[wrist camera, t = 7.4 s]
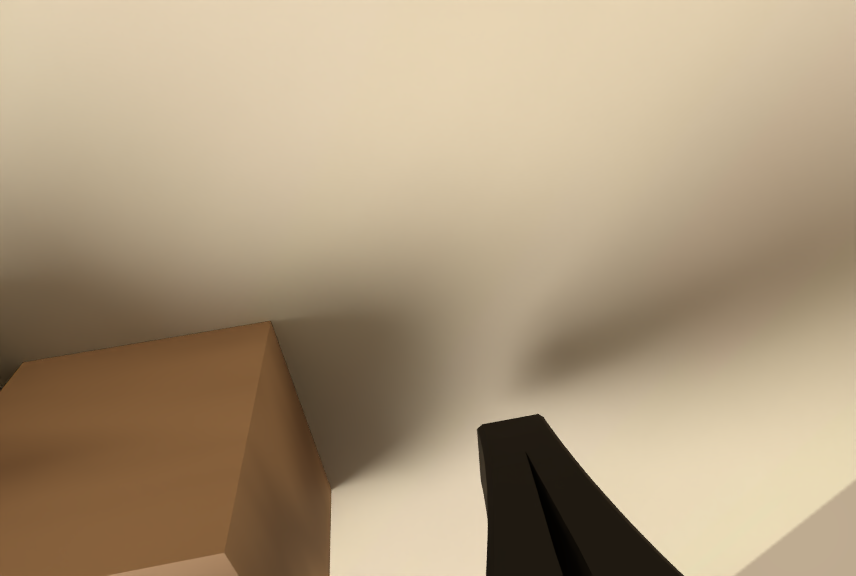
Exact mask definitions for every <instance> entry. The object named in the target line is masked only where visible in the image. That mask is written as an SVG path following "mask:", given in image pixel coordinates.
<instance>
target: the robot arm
mask: <svg viewBox="0 0 856 576" xmlns="http://www.w3.org/2000/svg"><path fill="white" fill-rule="evenodd" d="M477 434H478V448H479V461H480V475H481V483H482V488H483V493H484V499H485V505H486V511H487V518H488V541H487V566H486V576H684V575H683V574H681V573H680V572H679V571H678V570H677V569H676V568H675V567H674V566H673V565H672V564H671V563H670V562H669V561H668V560H667V559H666V558H665V557H664V556H663V555H662V554H661V553H660V552H659V551H658V550H657V549H656V548H655V547H654V546H653V545H652V544H651V543H650V542H649V541H648V540H647V539H646V538H645V537H644V536H643V535H642V534H641V533H640V532H639V531H638V530H637V529H636V528H635V527H634V526H633V525H632V524H631V522H630V521H629V520H628V519H627V518H626V517H625V516H624V515H623V514H622V513H621V512H620V511H619V510H618V508H617V507H616V506H615V505H614V504H613V503H612V502H611V501H610V499H609V498H608V497H607V496H606V495H605V494H604V493H603V492H602V490H601V489H600V488H599V487H598V486H597V485H596V484H595V483H594V481H593V480H592V479H591V478H590V477H589V475H588V474H587V473H586V472H585V471H584V470H583V468H582V467H581V466H580V465H579V463H578V462H577V461H576V460H575V458H574V457H573V456H572V455H571V454H570V452H569V451H568V450H567V448H566V447H565V446H564V445H563V443H562V442H561V441H560V439H559V438H558V437H557V435H556V434H555V433H554V431H553V430H552V429H551V427H550V426H549V424H548V423H547V422H546V420H545V419H544V417H543V416H541V415H539V414H536V415H530V416H525V417H520V418H514V419H509V420H503V421H498V422H493V423H487V424H482V425H481V426H480V427H479V428H478V429H477Z"/></svg>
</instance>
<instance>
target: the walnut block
mask: <svg viewBox="0 0 856 576" xmlns="http://www.w3.org/2000/svg"><path fill="white" fill-rule="evenodd" d="M330 530H331V487H330V485H329V482H328V479H327V476H326V473H325V471H324V468H323V465H322V462H321V460H320V457H319V454H318V451H317V448H316V446H315V443H314V440H313V437H312V434H311V432H310V429H309V426H308V423H307V421H306V418H305V415H304V412H303V409H302V407H301V404H300V401H299V398H298V396H297V393H296V390H295V387H294V384H293V382H292V379H291V376H290V373H289V371H288V368H287V365H286V362H285V359H284V357H283V354H282V351H281V348H280V345H279V343H278V340H277V337H276V334H275V332H274V329H273V326H272V323H271V321H267V322H261V323H255V324H249V325H243V326H237V327H231V328H225V329H219V330H213V331H207V332H201V333H195V334H189V335H183V336H177V337H171V338H165V339H159V340H154V341H148V342H142V343H136V344H130V345H124V346H118V347H112V348H106V349H100V350H94V351H88V352H82V353H76V354H70V355H64V356H58V357H52V358H46V359H40V360H34V361H28V362H23V363H22V365H21V366H20V367H19V368H18V370H17V371H16V372H15V373H14V375H13V376H12V377H11V378H10V380H9V381H8V382H7V383H6V385H5V386H4V387H3V388H2V390H1V391H0V576H329V575H330Z"/></svg>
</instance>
